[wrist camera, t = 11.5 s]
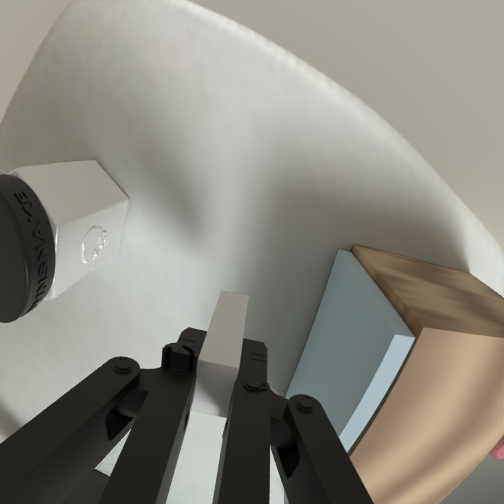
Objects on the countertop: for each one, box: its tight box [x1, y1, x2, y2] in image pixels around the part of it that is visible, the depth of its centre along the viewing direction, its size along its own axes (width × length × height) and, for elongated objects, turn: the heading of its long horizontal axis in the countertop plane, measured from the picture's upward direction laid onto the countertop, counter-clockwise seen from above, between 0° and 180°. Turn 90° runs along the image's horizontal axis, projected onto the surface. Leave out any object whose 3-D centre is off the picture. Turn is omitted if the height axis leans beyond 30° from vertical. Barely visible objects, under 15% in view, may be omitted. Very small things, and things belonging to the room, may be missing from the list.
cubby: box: [347, 244, 504, 504], centre depth 19 cm, size 12×16×12 cm
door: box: [284, 249, 415, 504], centre depth 19 cm, size 1×16×12 cm, turn 167°
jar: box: [0, 160, 129, 323], centre depth 18 cm, size 9×8×12 cm
